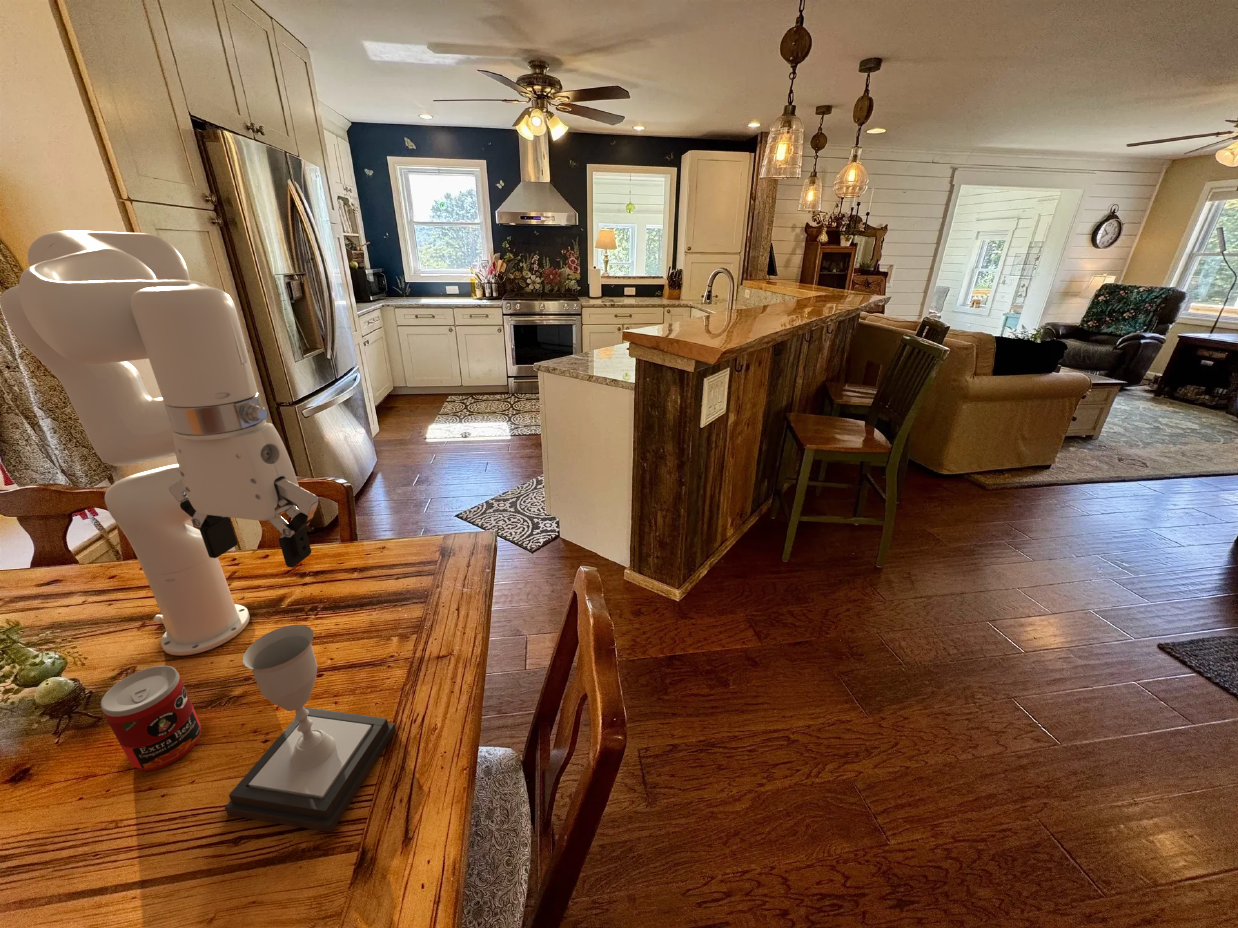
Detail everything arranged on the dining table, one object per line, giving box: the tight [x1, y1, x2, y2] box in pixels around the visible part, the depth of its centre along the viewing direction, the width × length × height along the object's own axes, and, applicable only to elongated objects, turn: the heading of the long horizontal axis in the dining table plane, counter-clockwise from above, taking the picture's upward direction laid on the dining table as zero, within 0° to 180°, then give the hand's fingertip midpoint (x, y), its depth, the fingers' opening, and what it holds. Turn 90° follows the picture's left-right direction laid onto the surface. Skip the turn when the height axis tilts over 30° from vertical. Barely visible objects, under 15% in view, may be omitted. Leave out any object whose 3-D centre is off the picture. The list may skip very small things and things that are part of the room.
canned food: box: [100, 665, 202, 772], centre depth 67 cm, size 8×8×11 cm
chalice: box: [242, 624, 335, 770], centre depth 61 cm, size 7×7×18 cm
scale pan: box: [249, 716, 372, 800], centre depth 65 cm, size 10×10×2 cm
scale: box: [224, 706, 397, 834], centre depth 66 cm, size 14×14×3 cm
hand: (261, 555), depth 57 cm, fingers open, 9 cm apart
